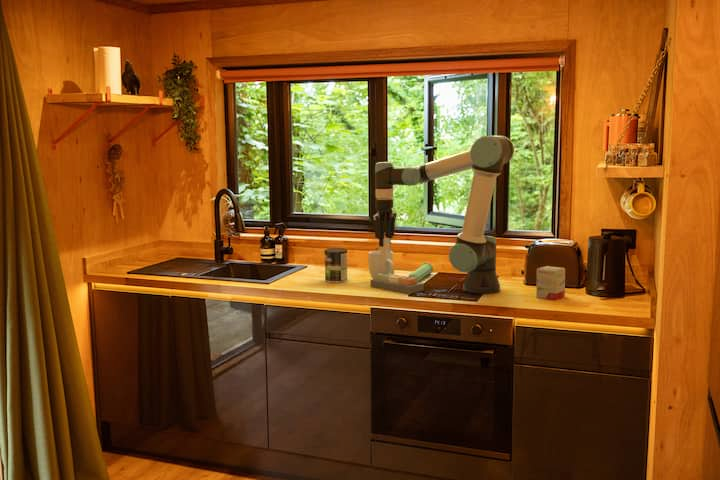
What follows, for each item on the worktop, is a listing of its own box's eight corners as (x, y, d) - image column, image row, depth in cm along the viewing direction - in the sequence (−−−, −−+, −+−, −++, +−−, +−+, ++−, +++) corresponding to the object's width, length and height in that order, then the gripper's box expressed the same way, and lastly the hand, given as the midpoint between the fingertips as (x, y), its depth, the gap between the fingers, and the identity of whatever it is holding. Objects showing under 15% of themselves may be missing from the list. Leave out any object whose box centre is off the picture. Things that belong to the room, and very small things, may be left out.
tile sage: (393, 281, 310) (393, 273, 309) (385, 283, 306) (385, 275, 305) (384, 280, 313) (384, 272, 312) (377, 282, 309) (377, 274, 309)
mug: (403, 282, 317) (403, 253, 315) (383, 285, 311) (382, 255, 309) (384, 277, 329) (383, 249, 327) (364, 280, 323) (363, 251, 321)
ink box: (565, 296, 286) (566, 267, 284) (555, 300, 279) (556, 270, 278) (545, 293, 291) (546, 264, 290) (535, 297, 285) (535, 268, 283)
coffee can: (330, 284, 317) (330, 252, 315) (321, 280, 326) (320, 249, 324) (351, 281, 322) (351, 250, 320) (341, 277, 331) (341, 247, 329)
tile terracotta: (416, 285, 301) (416, 277, 300) (409, 287, 297) (409, 279, 296) (407, 284, 304) (407, 276, 303) (400, 286, 300) (399, 277, 300)
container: (414, 271, 312) (430, 260, 334) (402, 275, 314) (419, 264, 337) (419, 284, 312) (435, 272, 335) (407, 288, 314) (423, 276, 337)
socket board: (423, 290, 301) (423, 283, 300) (409, 294, 295) (409, 286, 294) (384, 283, 316) (384, 276, 316) (370, 286, 310) (370, 279, 309)
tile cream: (405, 283, 305) (404, 275, 305) (397, 285, 301) (397, 277, 301) (396, 282, 308) (396, 274, 308) (388, 284, 305) (388, 275, 304)
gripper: (389, 196, 312) (390, 250, 316) (365, 199, 301) (366, 254, 305) (402, 197, 307) (403, 252, 310) (378, 200, 296) (379, 256, 300)
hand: (385, 253), depth 308 cm, fingers open, 2 cm apart
